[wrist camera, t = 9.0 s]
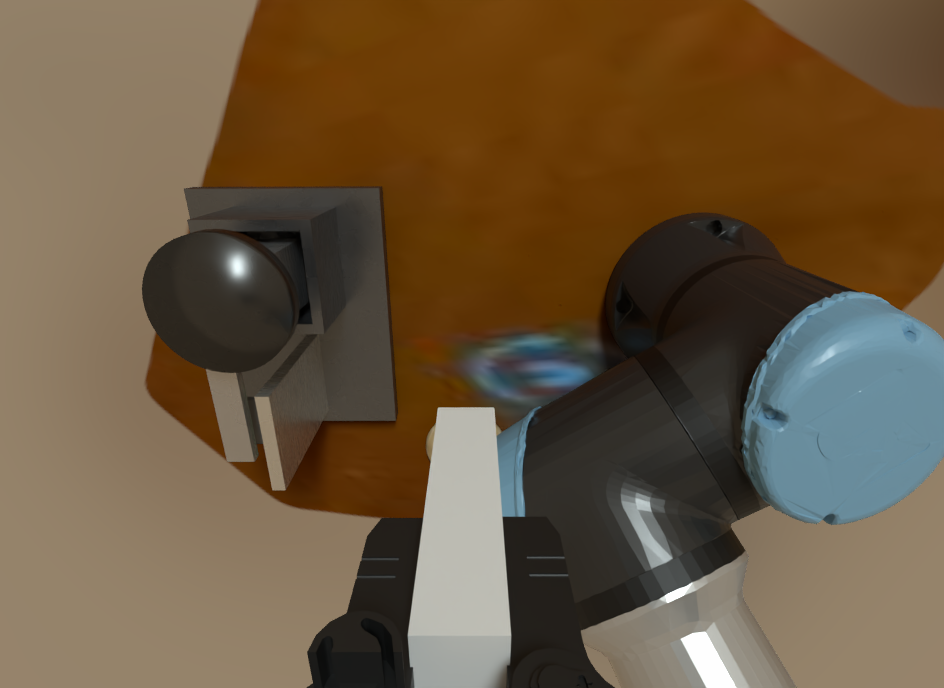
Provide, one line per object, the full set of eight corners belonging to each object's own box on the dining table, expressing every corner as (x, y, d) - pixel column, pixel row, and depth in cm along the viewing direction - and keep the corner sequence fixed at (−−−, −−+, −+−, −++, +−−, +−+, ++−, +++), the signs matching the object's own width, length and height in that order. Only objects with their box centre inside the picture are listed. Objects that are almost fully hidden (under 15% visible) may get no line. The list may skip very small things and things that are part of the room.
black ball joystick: (323, 211, 37) (279, 233, 29) (346, 410, 44) (315, 474, 35) (202, 211, 37) (124, 233, 29) (243, 410, 44) (189, 474, 35)
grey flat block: (262, 396, 39) (259, 399, 38) (270, 440, 40) (267, 443, 40) (242, 396, 39) (239, 399, 38) (251, 440, 40) (249, 443, 40)
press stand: (382, 186, 42) (343, 207, 30) (397, 412, 50) (373, 503, 38) (193, 187, 42) (75, 208, 30) (240, 413, 51) (164, 503, 38)
